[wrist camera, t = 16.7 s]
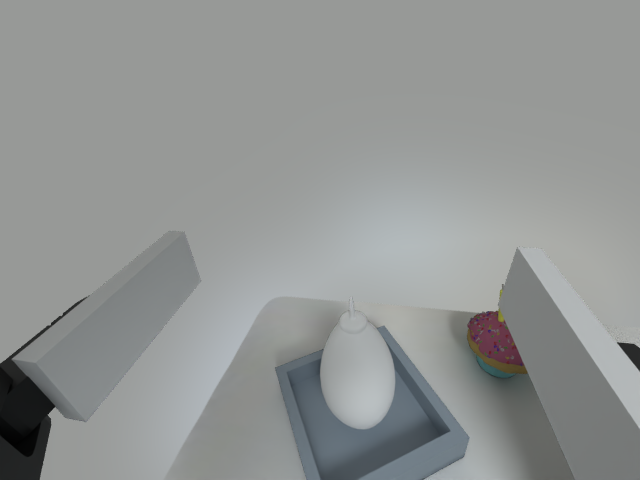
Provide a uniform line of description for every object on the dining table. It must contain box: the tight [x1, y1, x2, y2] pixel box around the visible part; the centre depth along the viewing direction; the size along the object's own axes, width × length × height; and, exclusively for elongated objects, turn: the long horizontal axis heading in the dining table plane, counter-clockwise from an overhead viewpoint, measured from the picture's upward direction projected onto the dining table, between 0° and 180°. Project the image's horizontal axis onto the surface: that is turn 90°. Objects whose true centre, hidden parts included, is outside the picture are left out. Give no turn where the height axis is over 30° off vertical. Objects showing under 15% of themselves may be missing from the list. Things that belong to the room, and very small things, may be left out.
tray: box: [275, 326, 469, 480], centre depth 35 cm, size 16×16×4 cm
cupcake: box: [467, 284, 528, 378], centre depth 37 cm, size 9×8×12 cm
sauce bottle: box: [320, 297, 395, 430], centre depth 31 cm, size 8×8×18 cm
